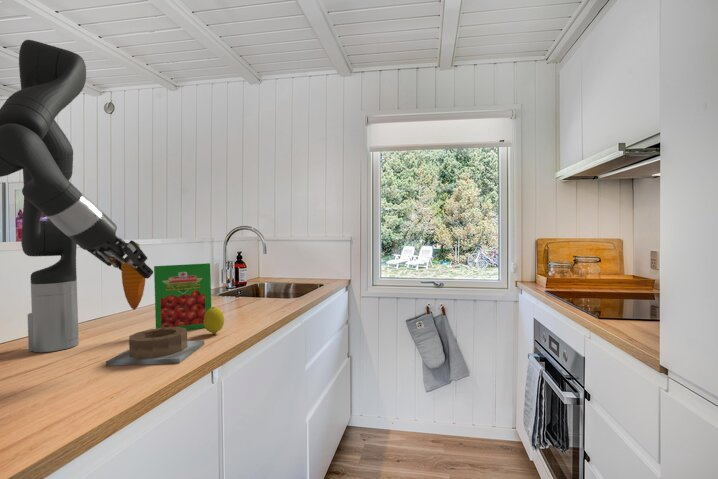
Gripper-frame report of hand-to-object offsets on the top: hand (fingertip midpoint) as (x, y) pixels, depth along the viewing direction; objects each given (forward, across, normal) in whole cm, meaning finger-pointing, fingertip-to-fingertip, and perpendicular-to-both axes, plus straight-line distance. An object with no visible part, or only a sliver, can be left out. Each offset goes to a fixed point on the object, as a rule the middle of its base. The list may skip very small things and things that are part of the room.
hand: (141, 274), depth 83 cm
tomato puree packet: (+30, +14, -2) cm, 33 cm away
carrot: (+4, 0, +7) cm, 8 cm away
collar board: (+17, 0, +11) cm, 20 cm away
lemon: (+30, +1, -2) cm, 30 cm away
